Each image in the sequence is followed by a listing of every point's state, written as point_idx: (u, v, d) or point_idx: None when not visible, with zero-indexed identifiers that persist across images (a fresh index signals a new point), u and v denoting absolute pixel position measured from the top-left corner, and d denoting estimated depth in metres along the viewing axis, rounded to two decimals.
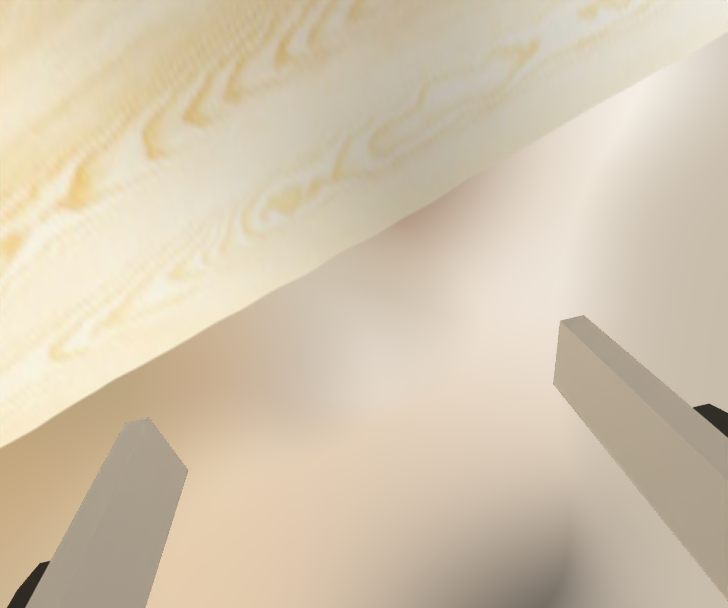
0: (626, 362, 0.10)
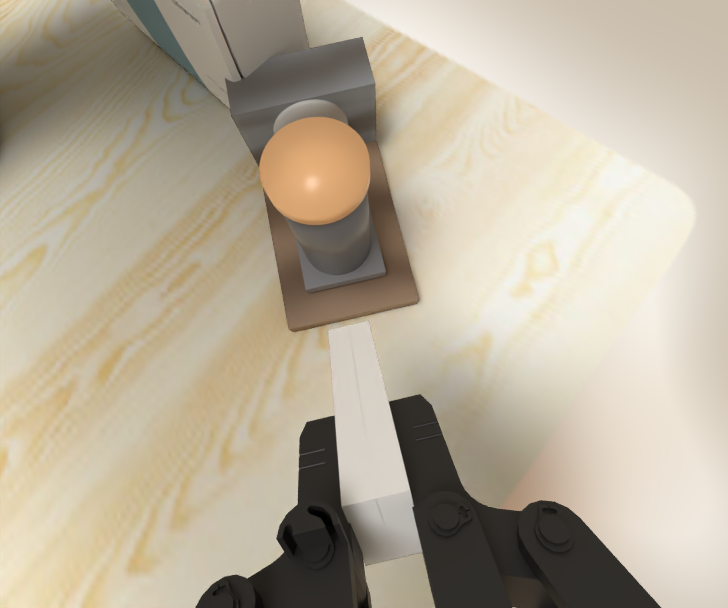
0: (369, 360, 0.12)
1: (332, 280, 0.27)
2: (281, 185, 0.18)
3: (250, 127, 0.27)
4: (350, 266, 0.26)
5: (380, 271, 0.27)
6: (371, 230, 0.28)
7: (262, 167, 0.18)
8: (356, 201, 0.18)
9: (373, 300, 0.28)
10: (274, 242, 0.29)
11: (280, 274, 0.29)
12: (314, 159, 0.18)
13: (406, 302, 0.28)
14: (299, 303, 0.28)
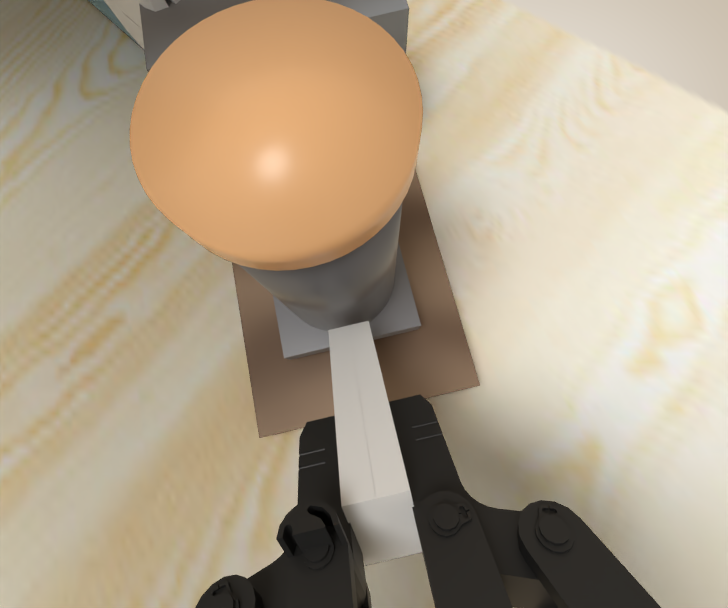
0: (369, 360, 0.12)
1: None
2: (184, 167, 0.07)
3: None
4: (361, 320, 0.15)
5: (411, 325, 0.16)
6: None
7: (137, 121, 0.07)
8: (387, 208, 0.07)
9: (402, 387, 0.17)
10: (238, 286, 0.18)
11: (247, 341, 0.17)
12: (274, 99, 0.07)
13: (458, 389, 0.17)
14: (278, 392, 0.17)
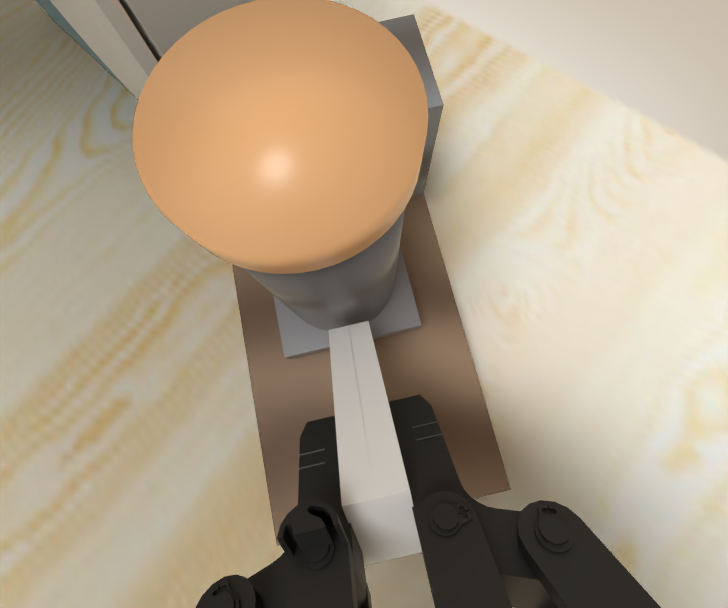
0: (369, 360, 0.12)
1: None
2: (188, 170, 0.07)
3: None
4: (361, 320, 0.15)
5: (412, 325, 0.16)
6: None
7: (140, 123, 0.07)
8: (392, 212, 0.07)
9: None
10: (252, 375, 0.17)
11: (262, 436, 0.16)
12: (279, 101, 0.07)
13: None
14: (296, 494, 0.16)
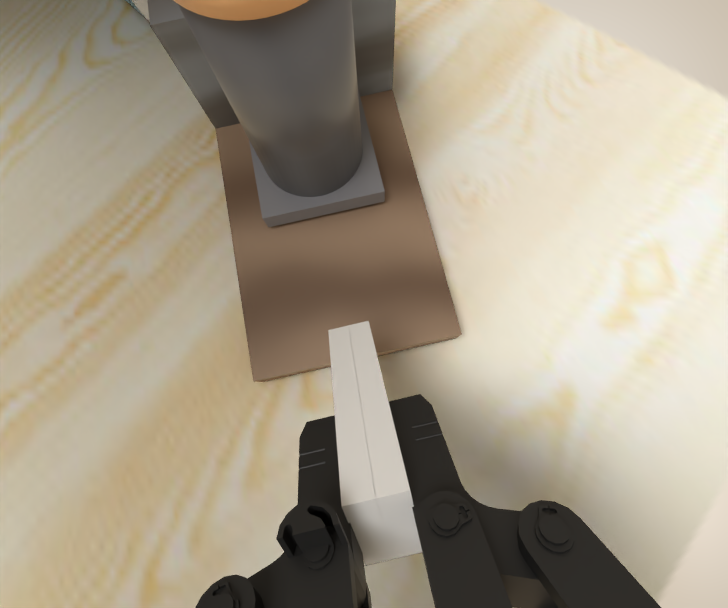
0: (369, 360, 0.12)
1: (304, 204, 0.18)
2: None
3: (189, 53, 0.16)
4: (329, 178, 0.17)
5: (376, 191, 0.18)
6: (363, 133, 0.19)
7: None
8: None
9: (389, 335, 0.18)
10: (234, 242, 0.19)
11: (242, 292, 0.18)
12: None
13: (441, 338, 0.18)
14: (271, 339, 0.18)
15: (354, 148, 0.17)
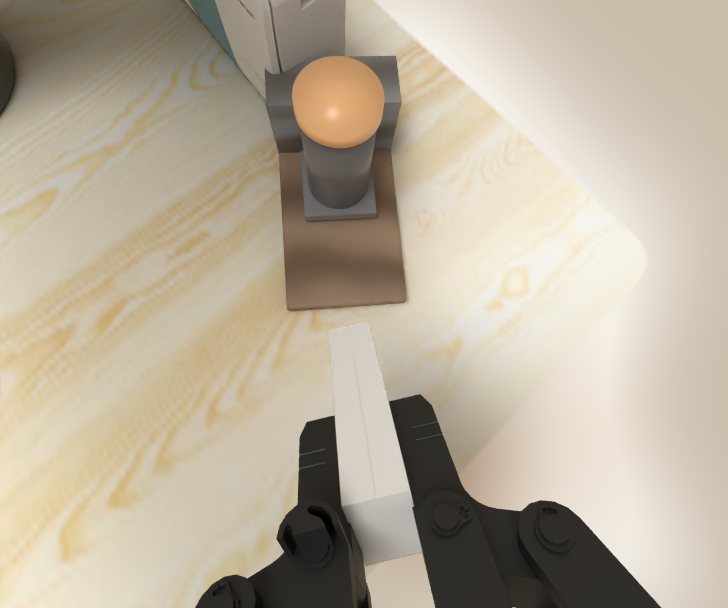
0: (369, 360, 0.12)
1: (329, 212, 0.31)
2: (309, 107, 0.21)
3: (281, 118, 0.29)
4: (347, 201, 0.30)
5: (372, 212, 0.31)
6: (369, 175, 0.32)
7: (295, 89, 0.22)
8: (368, 133, 0.22)
9: (366, 294, 0.31)
10: (284, 226, 0.32)
11: (285, 257, 0.31)
12: (339, 91, 0.22)
13: (395, 300, 0.32)
14: (299, 286, 0.31)
15: (364, 187, 0.30)
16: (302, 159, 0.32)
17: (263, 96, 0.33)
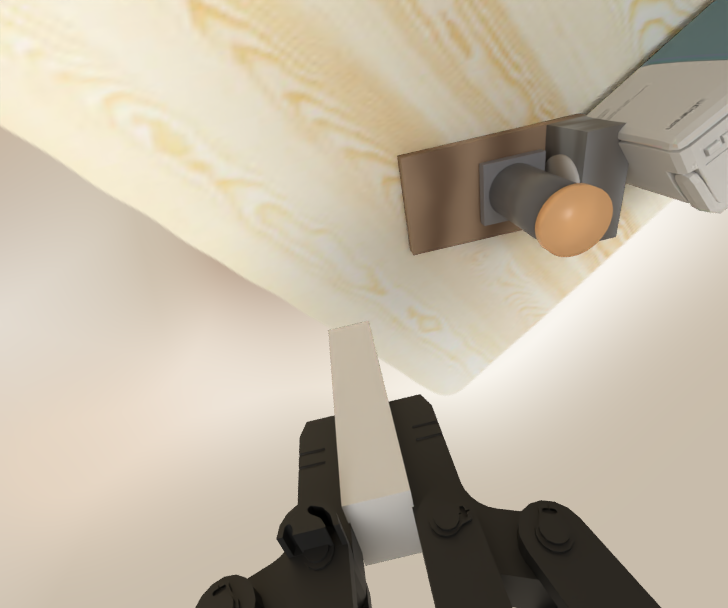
0: (369, 360, 0.12)
1: (486, 187, 0.36)
2: (570, 202, 0.27)
3: (575, 140, 0.31)
4: (494, 204, 0.35)
5: (485, 222, 0.37)
6: None
7: (587, 188, 0.26)
8: (544, 247, 0.29)
9: (416, 224, 0.38)
10: (474, 142, 0.35)
11: (446, 149, 0.35)
12: (580, 223, 0.28)
13: (412, 246, 0.39)
14: (420, 166, 0.35)
15: None
16: (537, 154, 0.35)
17: (606, 101, 0.33)
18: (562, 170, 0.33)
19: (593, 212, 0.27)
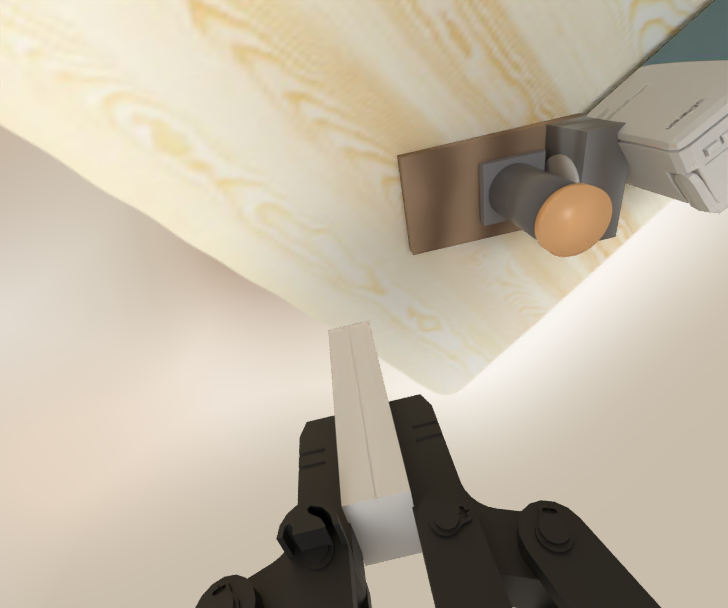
0: (369, 360, 0.12)
1: (486, 186, 0.36)
2: (569, 202, 0.27)
3: (575, 140, 0.31)
4: (494, 204, 0.35)
5: (485, 222, 0.38)
6: None
7: (587, 188, 0.26)
8: (544, 247, 0.29)
9: (416, 224, 0.38)
10: (474, 142, 0.35)
11: (446, 149, 0.35)
12: (580, 223, 0.28)
13: (411, 246, 0.40)
14: (420, 166, 0.35)
15: None
16: (536, 154, 0.35)
17: (606, 101, 0.33)
18: (562, 170, 0.33)
19: (592, 212, 0.27)
